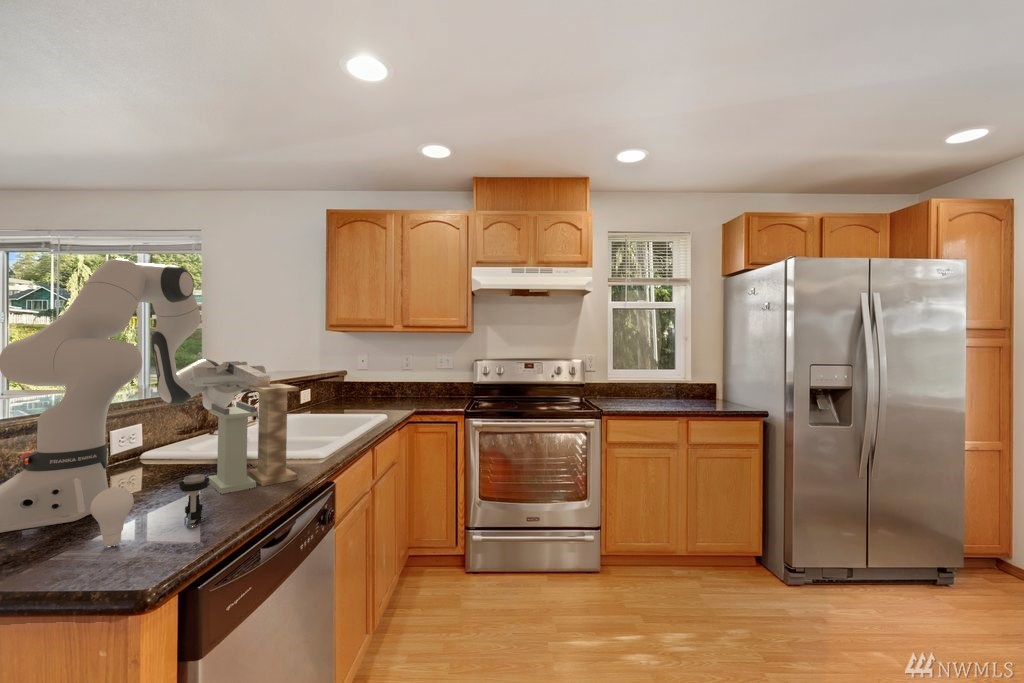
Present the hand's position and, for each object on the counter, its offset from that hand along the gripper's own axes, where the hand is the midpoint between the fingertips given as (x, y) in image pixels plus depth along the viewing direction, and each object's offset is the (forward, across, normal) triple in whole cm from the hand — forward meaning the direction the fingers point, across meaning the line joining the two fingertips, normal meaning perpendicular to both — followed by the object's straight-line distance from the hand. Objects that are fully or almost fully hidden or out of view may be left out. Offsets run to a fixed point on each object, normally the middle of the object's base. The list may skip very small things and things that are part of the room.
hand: (235, 363), depth 142 cm
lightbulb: (+26, -32, +52) cm, 67 cm away
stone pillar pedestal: (+3, +4, +38) cm, 39 cm away
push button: (+25, -19, +51) cm, 60 cm away
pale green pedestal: (+3, -6, +38) cm, 39 cm away
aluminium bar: (+6, +1, +8) cm, 11 cm away
